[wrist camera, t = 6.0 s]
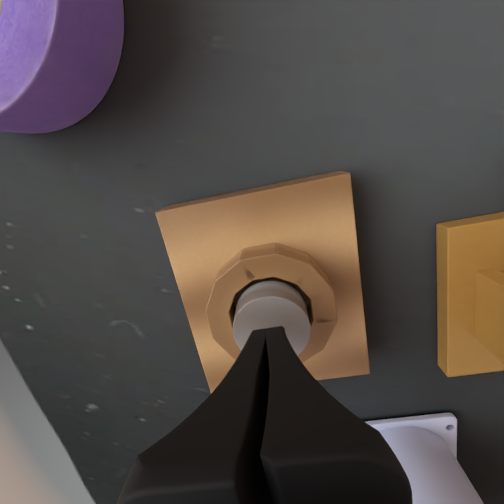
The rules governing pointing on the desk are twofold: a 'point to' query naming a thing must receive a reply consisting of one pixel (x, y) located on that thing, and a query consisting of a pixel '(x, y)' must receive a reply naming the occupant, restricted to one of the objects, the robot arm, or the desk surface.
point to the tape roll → (56, 60)
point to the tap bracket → (470, 295)
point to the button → (272, 313)
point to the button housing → (272, 267)
